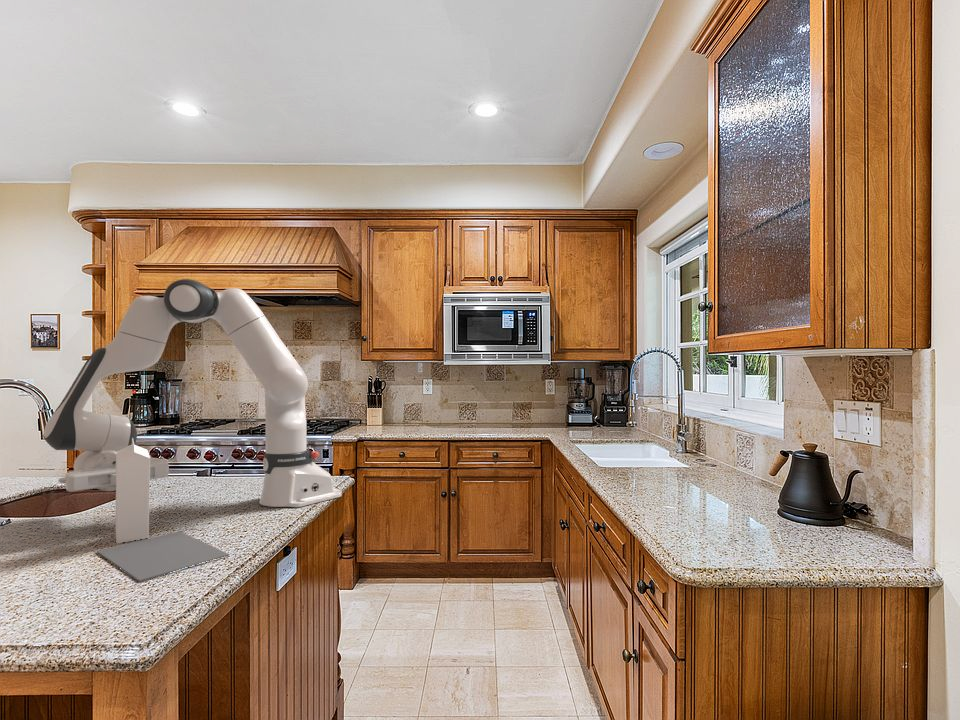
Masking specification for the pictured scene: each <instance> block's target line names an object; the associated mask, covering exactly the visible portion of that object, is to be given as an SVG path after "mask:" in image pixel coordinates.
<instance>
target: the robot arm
mask: <svg viewBox="0 0 960 720" xmlns="http://www.w3.org/2000/svg"><path fill="white" fill-rule="evenodd" d="M163 294H164V295H163V297H158V296H153V295H141V296H137V297H135V298H134V299H133V301H132V302H131V303H130V305H129V306H128V308H127V310H126V312H125V314H124V315H123V318H122V320H121V322H120V325H119V327H118V330H117V333H116V334H115V336H114V338H113V339H112V341H110V342H109V343H108V344H107V345H106V346H104V347H100V348H99V347H98V348H97V349H95V350H94V351H92V353H91V355H90V356H89V358H87V360H86V361H85V363H84V364H83V366H82V368H81V369H80V371H79V372H78V374H77V375H76V378H74V381H73V382H72V384H71V386H70V388H69V390H67V392H66V394H65V396H64V397H63V399H62V401H61V402H60V403H59V405H58V406H57V408H56V409H55V411H54V412H53V413H52V415H51V416H50V418H49V419H48V420H47V422H46V424H45V426H44V430H43V439H44V440H45V442H46V443H47V445H49V446H50V447H51V448H52V449H54V450H56V451H81V452H82V451H83V452H82V453H80V454H79V455H78V456H77V457H76V458H75V460H74V462H73V470H72V471H68V472H66V473H65V476H64V477H59V478H58V483H60V484H65V485H64V486H65V489H66V491H67V492H69V493H72V492H76V493H77V492H81V491H88V490H93V489H94V490H95V489H98V490H99V491H103V492H113V491H116V453H117V452H118V451H120V450H122V449H124V448H126V447H128V446H129V445H131V444H132V438H133V441H134V445H136V444H137V438H138V432H137V428H136V426H135V423H134V422H133V420H132V419H131V418H130V417H129V416H124V415H122V416H121V415H117V414H109V413H100V412H93V411H86V410H83V409H84V407H85V406H86V405H87V402H88V401H89V399H90V398H91V396H92V394H93V392H94V390H95V389H96V387H97V385H98V384H99V383H100V381H102V380H103V379H104V378H107V377H109V376H112V375H115V374H122V373H131V372H138V371H143V370H147V369H148V368H150V367H152V366H154V365H156V363H158V362H159V360H160V359H161V357H162V355H163V353H164V350H165V348H166V345H167V342H168V339H169V335H170V333H171V330H172V329H173V327H174V326H175V325H177V324H191V325H192V324H193V325H195V324H197V325H198V324H202V323H205V322H207V321H209V320H210V319H212V320H214V321H215V322H217V323H218V324H219V325H220V326H221V328H223V330H224V332H225V333H226V335H227V336H228V338H229V339H230V341H231V342H232V344H233V345H234V347H235V348H236V349H237V351H238V352H239V354H240V355H241V356H242V357H243V359H244V361H245V362H246V364H247V365H248V367H249V368H250V369H251V371H252V373H253V374H254V375H255V377H256V378H257V379H258V382H259V383H260V384H261V386H262V387H263V389H264V394H265V395H264V401H265V403H264V407H265V410H264V411H265V413H264V414H265V415H264V416H265V422H264V423H265V452H263V462H262V465H263V473H264V478H263V486H262V491H261V495H260V498H259V502H258V503H259V505H261V506H265V507H272V508H273V507H274V508H277V507H279V508H281V507H283V508H284V507H288V508H289V507H291V508H301V507H304V506H310V505H312V504H313V505H314V504H317V503H321V502H325V501H329V500H332V499H338V498H340V497H342V491H341V490H340V489H338V488H337V487H334V486H335V485H334V481H333V477H332V475H331V474H330V473H329V472H328V471H327V470H325V469H324V468H323V467H321V466H319V465H317V464H316V463H315V462H314V461H313V459H315V460H317V459H319V457H320V453H319V452H318V451H315V450H313V451H311V450H309V449H308V448H307V445H308V443H307V432H308V430H307V424H308V423H307V422H308V421H307V412H306V394H307V391H308V389H309V379H308V377H307V375H306V373H305V372H304V370H303V368H302V367H301V366H300V364H299V363H298V361H297V360H296V358H295V357H294V356H293V354H292V352H291V351H290V350H289V348H288V347H287V346H286V345H285V343H284V342H283V340H281V338H280V336H279V335H278V333H277V332H276V330H275V329H274V327H273V326H272V325H271V323H270V322H269V319H267V317H266V316H265V314H264V312H263V311H262V310H261V308H260V307H259V305H258V304H257V303H256V302H255V301H254V300H253V299H252V297H250V295H249V294H248V293H246V291H244V290H243V289H241V288H238V287H230V288H225V289H224V290H222V291H219V292H218V291H216V290H215V289H213V288H210V287H209V286H207V285H206V284H204V283H201V282H200V281H197V280H195V279H189V278H184V279H183V278H182V279H178V280H175V281H173V282H171V283H170V284H169V285H168V286H167V287H166V289H165V291H164V293H163ZM149 456H150V480H157V479H163V478H166V477H168V476H169V474H170V470H169V469H170V468H169V467H170V465H169V462H168V461H166V460H164V459H161V458H157V457H152V455H151V454H149Z"/></svg>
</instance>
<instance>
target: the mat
mask: <svg viewBox="0 0 960 720" xmlns="http://www.w3.org/2000/svg"><path fill="white" fill-rule="evenodd" d="M96 554H98V555H99V554H100V555H99V556H100V557H102V556H103V557H104V559H105V558H106V559H107V561H108V562H109V561H110V562H109V563H111V562H112V563H113V564H112V563H111V564H112V565H114V564H115V565H116V566H118V567H119V568H121V569H122V570H123V571H122V570H121V569H120V570H121V571H122V572H124V571H125V572H126V573H125V572H124V573H125V574H126V575H128V574H129V575H130V576H129V575H128V576H129V577H131V578H132V579H133V580H136V582H138V583H143V581H144V582H147V581H150V580H153V578H154V579H156V578H155V577H157V578H159V577H158V576H161V577H163V576H162V575H164V574H168V573H170V572H173V571H176V570H179V569H182V568H185V567H189V566H192V565H196V564H199V563H202V562H206V561H210V560H213V559H217V558H221V557H224V556H228V555H230V553H228V552H225V551H223V550H221V549H218V548H216V547H214V546H212V545H210V544H208V543H206V542H204V541H201V540H200V539H198V538H195V537H193V536H191V535H189V534H186V533H185V532H182V531H174V532H171V533H167V534H162V535H158V536H153V537H149V538H148V539H142V540H136V541H131V542H127V543H122V544H121V545H119V544H118V545H115V546H112V547H111V546H110V547H107V548H104V549H103V548H102V549H98V550H96ZM103 557H102V558H103ZM106 559H105V560H106ZM115 565H114V566H115ZM116 566H115V567H116ZM118 567H117V568H118ZM119 568H118V569H119ZM168 575H169V574H168ZM164 576H165V575H164ZM146 580H147V581H146Z"/></svg>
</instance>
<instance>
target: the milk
mask: <svg viewBox="0 0 960 720" xmlns="http://www.w3.org/2000/svg"><path fill="white" fill-rule="evenodd" d="M149 455H150V453H149V450H148V449H146V448H144V447H141V446H139V445H136V444H135V445H134V441H133V438H132V444H131V445H129V446H128V447H126V448H124V449H122V450H120V451H118V452H117V453H116V490H115V542H116V543H119V544H123V543H122V542H125V543H129V542H128V541H131V542H135V541H134V540H136V541H140V539H142V540H145V538H148V539H149V538H150V535H149V534H150V532H149V531H150V486H151V485H150V483H151V481H150V456H149Z"/></svg>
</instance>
